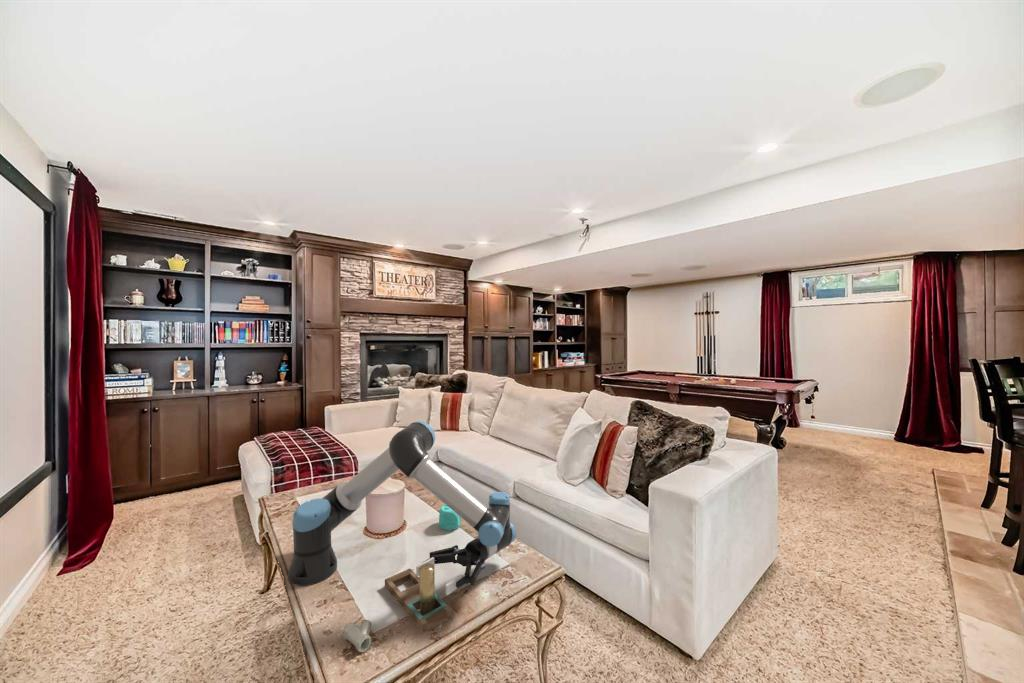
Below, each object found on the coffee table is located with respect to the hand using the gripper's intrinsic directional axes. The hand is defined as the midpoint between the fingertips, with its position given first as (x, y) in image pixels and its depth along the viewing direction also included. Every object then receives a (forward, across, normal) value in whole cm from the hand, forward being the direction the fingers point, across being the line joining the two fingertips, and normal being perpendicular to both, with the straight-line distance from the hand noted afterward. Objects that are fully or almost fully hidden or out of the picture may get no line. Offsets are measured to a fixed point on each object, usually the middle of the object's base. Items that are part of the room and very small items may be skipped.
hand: (431, 580), depth 118 cm
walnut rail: (0, +7, -10) cm, 12 cm away
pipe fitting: (+18, +6, -10) cm, 22 cm away
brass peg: (+1, 0, -10) cm, 10 cm away
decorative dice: (-38, +34, -10) cm, 52 cm away
